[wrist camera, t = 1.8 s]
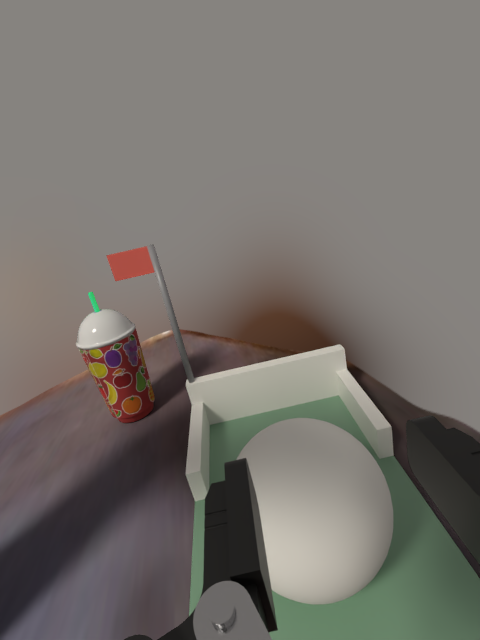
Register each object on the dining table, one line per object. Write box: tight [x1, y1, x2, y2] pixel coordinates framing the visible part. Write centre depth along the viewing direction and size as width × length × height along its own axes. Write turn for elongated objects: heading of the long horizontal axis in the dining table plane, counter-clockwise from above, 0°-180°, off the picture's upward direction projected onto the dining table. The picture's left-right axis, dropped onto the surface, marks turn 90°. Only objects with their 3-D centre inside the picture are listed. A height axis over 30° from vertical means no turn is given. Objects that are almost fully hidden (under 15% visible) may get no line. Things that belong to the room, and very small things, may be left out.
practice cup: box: [107, 245, 480, 640], centre depth 30 cm, size 25×30×25 cm
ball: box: [236, 418, 393, 604], centre depth 26 cm, size 12×12×12 cm
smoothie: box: [76, 292, 155, 423], centre depth 51 cm, size 8×8×20 cm
